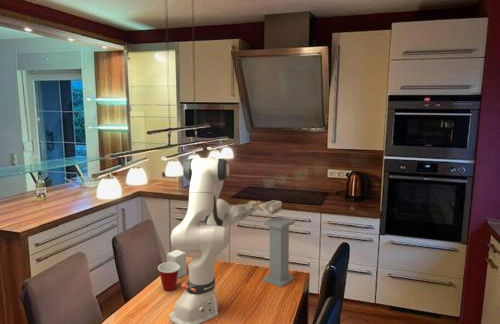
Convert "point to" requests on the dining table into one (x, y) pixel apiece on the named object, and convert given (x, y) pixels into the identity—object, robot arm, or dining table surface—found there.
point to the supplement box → (178, 261)
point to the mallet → (267, 206)
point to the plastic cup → (169, 275)
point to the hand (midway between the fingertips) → (255, 204)
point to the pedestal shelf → (279, 251)
